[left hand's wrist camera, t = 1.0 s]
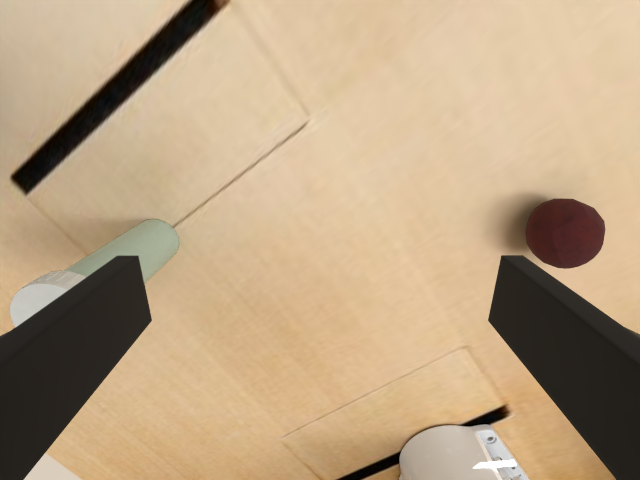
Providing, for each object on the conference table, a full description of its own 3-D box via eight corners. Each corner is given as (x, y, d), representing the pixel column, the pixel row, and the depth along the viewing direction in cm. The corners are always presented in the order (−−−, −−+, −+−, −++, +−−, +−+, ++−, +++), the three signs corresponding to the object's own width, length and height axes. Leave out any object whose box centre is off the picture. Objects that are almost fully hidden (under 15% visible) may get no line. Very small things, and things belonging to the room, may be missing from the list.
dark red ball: (527, 262, 43) (564, 290, 36) (502, 213, 40) (538, 232, 34) (584, 232, 41) (634, 254, 35) (562, 178, 39) (612, 192, 32)
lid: (49, 254, 26) (26, 266, 24) (127, 298, 27) (111, 313, 25) (20, 312, 28) (-4, 328, 26) (94, 351, 29) (77, 369, 27)
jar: (147, 210, 40) (36, 273, 25) (187, 235, 42) (105, 311, 26) (127, 244, 42) (11, 323, 26) (166, 267, 43) (77, 357, 27)
